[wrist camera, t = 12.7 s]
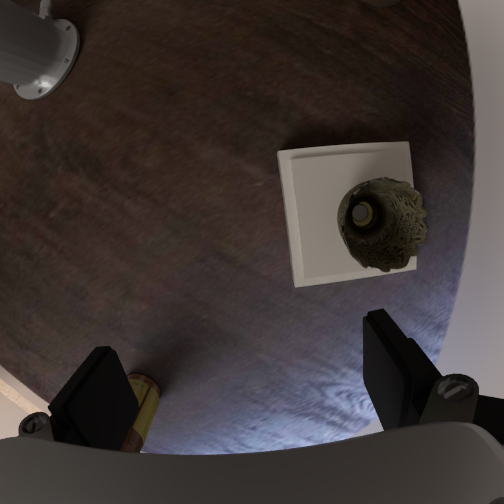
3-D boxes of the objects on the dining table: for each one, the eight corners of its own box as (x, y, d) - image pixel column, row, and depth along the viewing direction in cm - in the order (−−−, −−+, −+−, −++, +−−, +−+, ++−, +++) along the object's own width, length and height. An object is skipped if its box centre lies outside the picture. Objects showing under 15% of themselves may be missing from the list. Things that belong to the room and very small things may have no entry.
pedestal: (276, 153, 33) (278, 150, 29) (396, 144, 32) (411, 141, 28) (292, 277, 36) (295, 289, 32) (404, 261, 35) (418, 270, 31)
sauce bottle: (116, 383, 41) (58, 476, 22) (138, 364, 40) (77, 466, 21) (148, 410, 42) (104, 508, 23) (172, 393, 41) (130, 502, 22)
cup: (400, 188, 29) (439, 194, 21) (381, 256, 31) (413, 281, 23) (334, 166, 29) (357, 164, 21) (315, 239, 31) (331, 260, 23)
